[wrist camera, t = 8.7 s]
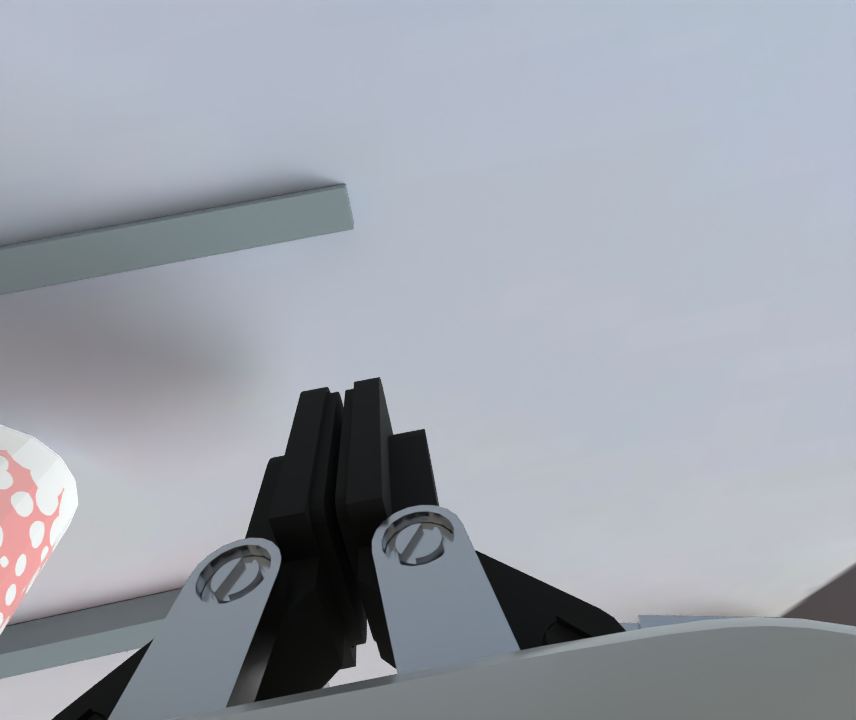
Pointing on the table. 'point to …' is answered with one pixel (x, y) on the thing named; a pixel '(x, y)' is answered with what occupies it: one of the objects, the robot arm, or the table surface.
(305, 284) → the table surface
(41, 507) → the beverage cup
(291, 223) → the slate channel
